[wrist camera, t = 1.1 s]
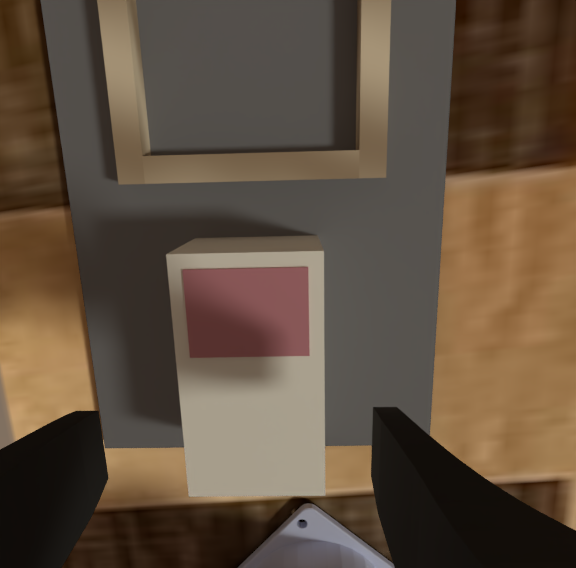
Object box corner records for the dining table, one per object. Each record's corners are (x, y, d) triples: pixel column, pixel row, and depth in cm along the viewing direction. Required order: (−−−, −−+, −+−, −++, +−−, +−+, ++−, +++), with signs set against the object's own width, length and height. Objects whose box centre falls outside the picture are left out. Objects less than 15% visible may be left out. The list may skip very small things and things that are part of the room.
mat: (425, 438, 20) (429, 444, 19) (109, 441, 20) (105, 448, 20) (466, -271, 14) (473, -288, 13) (12, -248, 14) (2, -264, 14)
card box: (319, 432, 19) (325, 497, 15) (210, 433, 19) (188, 498, 15) (317, 235, 17) (323, 251, 13) (195, 238, 17) (165, 254, 13)
